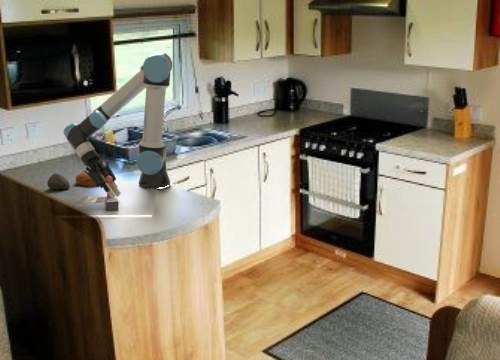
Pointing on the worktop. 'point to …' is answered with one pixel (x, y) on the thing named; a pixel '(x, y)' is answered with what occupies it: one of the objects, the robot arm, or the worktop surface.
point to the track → (92, 200)
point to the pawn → (109, 181)
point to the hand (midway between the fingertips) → (116, 196)
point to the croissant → (86, 180)
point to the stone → (58, 182)
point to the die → (111, 204)
